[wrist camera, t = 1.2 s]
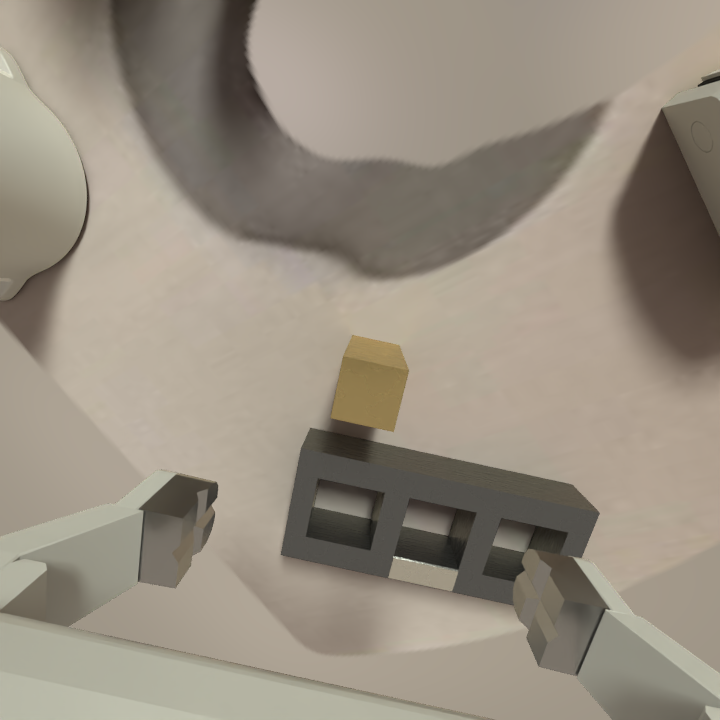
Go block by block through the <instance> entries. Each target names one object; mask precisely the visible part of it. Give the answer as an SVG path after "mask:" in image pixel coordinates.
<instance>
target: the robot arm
mask: <svg viewBox="0 0 720 720" xmlns="http://www.w3.org/2000/svg"><path fill="white" fill-rule="evenodd" d="M86 205H87V189H86V180H85V175H84V170H83V166H82V163H81V160H80V157H79V154H78V152H77V149H76V147H75V145H74V143H73V141H72V139H71V137H70V136H69V134H68V132H67V131H66V129H65V128H64V126H63V125H62V124H61V122H60V121H59V120H58V119H57V117H56V116H55V115H54V114H53V113H52V112H51V111H50V110H49V109H48V108H47V107H46V106H45V105H44V104H43V103H42V102H41V101H40V100H39V99H38V98H37V97H36V96H35V95H34V94H33V92H32V91H31V90H30V88H29V87H28V85H27V83H26V80H25V78H24V76H23V74H22V72H21V70H20V69H19V67H18V65H17V63H16V62H15V60H14V58H13V57H12V56H11V54H10V53H9V52H8V51H6V50H5V49H3V48H1V47H0V300H9V299H11V298H12V297H14V296H15V295H16V294H17V293H18V291H19V290H20V289H21V288H22V286H23V285H24V283H25V282H26V281H27V279H28V278H30V277H31V276H33V275H35V274H37V273H39V272H41V271H43V270H45V269H48V268H49V267H51V266H53V265H54V264H56V263H57V262H58V261H60V260H61V259H62V258H63V257H64V256H65V255H66V254H67V253H68V252H69V251H70V249H71V248H72V247H73V245H74V244H75V242H76V240H77V238H78V236H79V234H80V232H81V229H82V226H83V223H84V219H85V213H86ZM217 494H218V484H217V482H215V481H211V480H206V479H202V478H198V477H194V476H189V475H185V474H181V473H180V474H179V473H177V472H172V471H167V470H162V469H161V470H156V471H155V472H154V473H153V474H151V475H150V476H149V477H148V478H146V479H145V480H144V481H143V482H142V483H141V484H139V485H138V486H137V487H135V488H134V489H133V490H132V491H131V492H129V493H128V494H127V495H126V496H124V497H123V498H122V499H121V500H120V501H118V502H117V503H116V504H115V505H114V504H109V503H108V504H104V505H101V506H98V507H95V508H92V509H88V510H85V511H81V512H78V513H75V514H72V515H69V516H65V517H62V518H59V519H56V520H52V521H49V522H46V523H43V524H39V525H36V526H33V527H29V528H26V529H23V530H19V531H16V532H13V533H10V534H7V535H4V536H0V720H494V719H490V718H485V717H480V716H476V715H471V714H467V713H462V712H458V711H453V710H449V709H444V708H439V707H435V706H430V705H426V704H421V703H416V702H412V701H407V700H403V699H398V698H393V697H388V696H384V695H379V694H374V693H370V692H366V691H360V690H356V689H352V688H347V687H343V686H338V685H333V684H328V683H324V682H319V681H314V680H310V679H306V678H301V677H296V676H291V675H287V674H282V673H278V672H273V671H268V670H264V669H259V668H255V667H250V666H245V665H241V664H236V663H232V662H226V661H222V660H218V659H213V658H208V657H204V656H199V655H195V654H190V653H186V652H181V651H176V650H172V649H167V648H163V647H158V646H153V645H149V644H144V643H140V642H134V641H130V640H126V639H121V638H116V637H112V636H107V635H103V634H98V633H93V632H89V631H84V630H80V629H75V628H70V627H69V626H70V625H72V624H73V623H75V622H76V621H78V620H80V619H81V618H83V617H85V616H86V615H88V614H90V613H91V612H93V611H94V610H96V609H98V608H99V607H101V606H103V605H104V604H106V603H107V602H109V601H111V600H112V599H114V598H115V597H117V596H119V595H120V594H122V593H123V592H125V591H127V590H128V589H130V588H131V587H133V586H135V585H136V584H137V583H138V582H143V583H149V584H154V585H159V586H165V587H170V588H176V587H177V585H178V584H179V582H180V581H181V579H182V578H183V577H184V575H185V573H186V572H187V571H188V569H189V567H190V566H191V561H192V556H193V555H195V554H197V553H198V552H200V551H201V550H202V548H203V547H204V545H205V544H206V542H207V540H208V537H209V535H210V533H211V530H212V527H213V523H214V518H215V511H214V509H213V507H212V506H211V505H212V503H213V502H214V501H215V499H216V498H217ZM522 564H523V567H524V569H525V571H523V572H522V573H521V574H519V575H518V576H516V580H515V583H514V586H513V603H514V608H515V611H516V614H517V616H518V619H519V620H520V621H521V622H522V623H523V624H524V625H525V626H526V627H527V628H528V629H529V631H528V634H527V640H528V643H529V645H530V647H531V649H532V652H533V654H534V656H535V659H536V661H537V664H538V666H539V667H542V668H546V669H550V670H554V671H558V672H562V673H567V674H570V675H575V676H577V679H578V680H579V681H580V683H581V684H582V685H583V686H584V687H585V688H586V690H587V691H588V692H589V693H590V694H591V695H592V697H593V698H594V699H595V700H596V701H597V702H598V704H599V705H600V706H601V707H602V708H603V709H604V711H605V712H606V713H607V714H608V715H609V716H610V718H611V719H612V720H720V673H718V672H717V671H715V670H714V669H713V668H711V667H710V666H708V665H707V664H706V663H704V662H703V661H702V660H700V659H699V658H697V657H696V656H695V655H693V654H692V653H691V652H689V651H688V650H687V649H685V648H684V647H682V646H681V645H680V644H678V643H677V642H675V641H674V640H672V639H671V638H670V637H668V636H667V635H666V634H664V633H663V632H662V631H660V630H659V629H657V628H656V627H655V626H653V625H652V624H651V623H649V622H648V621H647V620H645V619H644V618H642V617H639V616H635V615H634V614H633V612H632V611H631V610H630V608H629V607H628V606H627V605H626V603H625V602H624V601H623V599H622V598H621V597H620V596H619V594H618V593H617V592H616V591H615V589H614V588H613V587H612V585H611V584H610V583H609V582H608V580H607V579H606V578H605V577H604V575H603V574H602V573H601V571H600V570H599V569H598V568H597V566H596V565H595V564H594V563H593V562H591V561H590V560H588V559H583V558H578V557H572V556H564V555H559V554H554V553H549V552H544V551H539V550H533V549H528V550H527V551H526V552H525V554H524V556H523V559H522Z"/></svg>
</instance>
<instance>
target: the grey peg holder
mask: <svg viewBox="0 0 720 720" xmlns="http://www.w3.org/2000/svg"><path fill="white" fill-rule="evenodd" d="M320 479H324V480H328V481H333V482H338V483H342V484H347V485H351V486H356V487H361V488H365V489H370V490H374V491H378V494H377V498H376V502H375V506H374V510H373V514H372V518H371V519H366V518H361V517H357V516H352V515H348V514H343V513H338V512H334V511H329V510H325V509H320V508H315V507H314V504H315V499H316V495H317V490H318V485H319V480H320ZM409 498H411V499H416V500H421V501H425V502H430V503H435V504H439V505H444V506H448V507H453V508H457V512H456V515H455V518H454V521H453V525H452V528H451V531H450V534H449V536H445V535H440V534H435V533H431V532H426V531H422V530H417V529H412V528H408V527H403V526H402V524H403V520H404V517H405V513H406V509H407V506H408V502H409ZM599 514H600V513H599V512H598V510H597V509H596V508H595V507H594V506H593V505H592V504H591V503H590V502H589V501H588V500H587V499H586V498H585V497H584V496H583V495H582V494H581V493H580V492H579V491H578V490H577V489H576V488H575V487H574V486H573V485H571V484H566V483H562V482H557V481H553V480H548V479H543V478H539V477H534V476H530V475H525V474H520V473H516V472H511V471H506V470H502V469H497V468H493V467H488V466H483V465H479V464H474V463H470V462H465V461H460V460H456V459H451V458H447V457H442V456H437V455H433V454H428V453H423V452H419V451H414V450H410V449H405V448H400V447H396V446H391V445H387V444H382V443H377V442H373V441H368V440H364V439H359V438H354V437H350V436H345V435H340V434H336V433H331V432H327V431H322V430H317V429H313V428H310V430H309V432H308V434H307V436H306V439H305V441H304V443H303V445H302V447H301V452H300V457H299V462H298V467H297V473H296V478H295V483H294V488H293V494H292V499H291V504H290V509H289V515H288V520H287V525H286V530H285V535H284V541H283V546H282V551H281V555H283V556H288V557H293V558H297V559H302V560H307V561H311V562H316V563H320V564H325V565H330V566H334V567H339V568H344V569H348V570H353V571H357V572H362V573H367V574H371V575H376V576H381V577H385V578H390V579H394V580H399V581H404V582H408V583H413V584H418V585H422V586H427V587H431V588H436V589H441V590H445V591H450V592H455V593H459V594H464V595H468V596H473V597H478V598H482V599H487V600H492V601H496V602H501V603H505V604H510V605H514V603H513V586H514V583H515V580H516V576H518V575H519V574H521V573H522V572H523V571H525V569H524V567H523V564H522V559H523V556H524V554H525V553H523V552H519V551H514V550H509V549H505V548H500V547H495V546H492V544H493V541H494V538H495V535H496V532H497V529H498V526H499V523H500V520H501V518H504V519H508V520H513V521H518V522H522V523H527V524H531V525H536V529H535V532H534V535H533V537H532V540H531V543H530V545H529V548H528V549H533V550H539V551H544V552H549V553H554V554H559V555H564V556H572V557H578V558H582V555H583V553H584V550H585V548H586V546H587V543H588V541H589V538H590V536H591V533H592V531H593V528H594V526H595V523H596V521H597V519H598V516H599Z"/></svg>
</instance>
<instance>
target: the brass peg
mask: <svg viewBox="0 0 720 720" xmlns="http://www.w3.org/2000/svg"><path fill="white" fill-rule="evenodd" d="M408 372H409V369H408V367H407V364H406V362H405V359H404V356H403V354H402V351H401V349H400V346H399V345H396V344H391V343H387V342H382V341H378V340H373V339H368V338H364V337H359V336H355V335H353V336H352V338H351V340H350V342H349V345H348V347H347V349H346V351H345V353H344V356H343V360H342V365H341V369H340V374H339V379H338V384H337V389H336V394H335V398H334V403H333V408H332V413H331V418H332V419H337V420H341V421H346V422H350V423H355V424H360V425H364V426H369V427H373V428H378V429H383V430H387V431H392V432H394V428H395V424H396V420H397V416H398V412H399V408H400V404H401V400H402V396H403V392H404V388H405V384H406V380H407V376H408Z"/></svg>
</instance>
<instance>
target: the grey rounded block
mask: <svg viewBox="0 0 720 720" xmlns="http://www.w3.org/2000/svg"><path fill="white" fill-rule="evenodd" d="M702 81H703V82H702V83H701V84H699V85H698V87H696V88H693V89H689V90H686V91H683V92H679V93H678V94H676V95H675V96H674V97H673V98H672V99H671V100H670V101H668V102H667V103H666V104H665V105H664V106H663V107H662V110H663V112H664V115H665V117H666V119H667V121H668V124H669V126H670V128H671V130H672V132H673V135H674V137H675V139H676V141H677V144H678V146H679V148H680V150H681V152H682V155H683V157H684V159H685V161H686V163H687V166H688V168H689V170H690V172H691V175H692V177H693V179H694V181H695V183H696V186H697V188H698V190H699V192H700V195H701V197H702V199H703V201H704V203H705V206H706V208H707V210H708V212H709V215H710V217H711V219H712V221H713V223H714V226H715V228H716V230H717V232H718V235H719V237H720V69H718V70H716V71H714V72H712V73H710V74H708V75H706V76H704V77H702Z"/></svg>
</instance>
